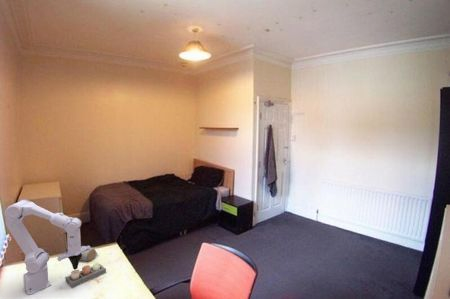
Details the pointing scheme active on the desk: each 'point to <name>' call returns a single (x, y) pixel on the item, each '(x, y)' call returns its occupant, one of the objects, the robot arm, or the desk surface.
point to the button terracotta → (85, 270)
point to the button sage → (96, 267)
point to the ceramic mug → (88, 254)
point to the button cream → (75, 275)
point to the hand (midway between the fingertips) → (75, 268)
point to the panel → (85, 277)
